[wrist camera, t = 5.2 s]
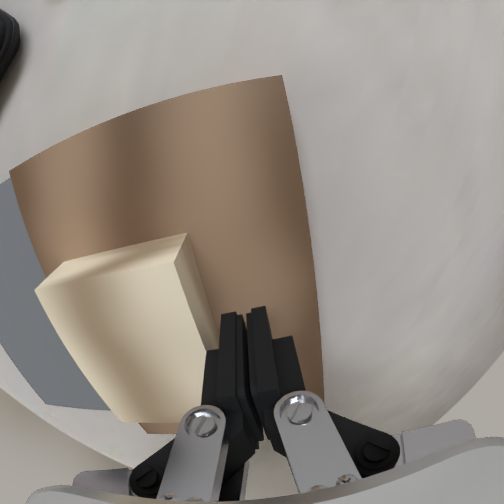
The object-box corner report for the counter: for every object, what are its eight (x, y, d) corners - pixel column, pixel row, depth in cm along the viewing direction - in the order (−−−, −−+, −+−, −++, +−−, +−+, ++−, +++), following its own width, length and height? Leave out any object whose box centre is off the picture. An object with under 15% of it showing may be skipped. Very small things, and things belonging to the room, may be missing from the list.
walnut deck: (273, 86, 11) (281, 75, 8) (317, 386, 18) (324, 415, 16) (39, 162, 11) (9, 171, 9) (153, 407, 18) (147, 433, 16)
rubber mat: (39, 162, 11) (34, 163, 11) (153, 407, 18) (152, 411, 18) (-51, 222, 12) (-55, 224, 11) (47, 401, 19) (46, 404, 18)
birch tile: (187, 232, 10) (173, 262, 8) (235, 379, 14) (235, 418, 11) (63, 261, 11) (34, 289, 8) (131, 387, 14) (120, 421, 12)
